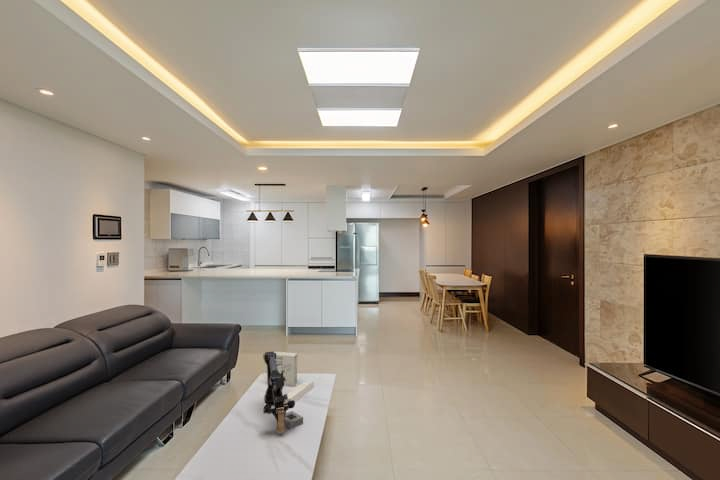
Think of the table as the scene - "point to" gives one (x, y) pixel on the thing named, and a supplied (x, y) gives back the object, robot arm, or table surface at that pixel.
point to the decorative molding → (299, 391)
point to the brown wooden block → (280, 420)
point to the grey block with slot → (292, 420)
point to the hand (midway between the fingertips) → (281, 420)
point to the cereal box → (287, 367)
